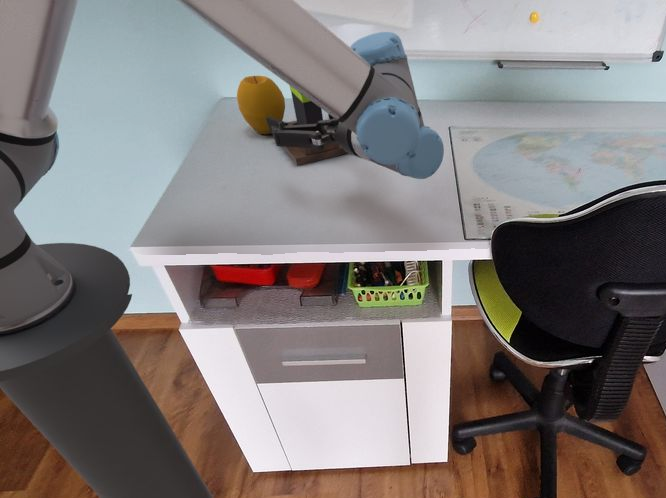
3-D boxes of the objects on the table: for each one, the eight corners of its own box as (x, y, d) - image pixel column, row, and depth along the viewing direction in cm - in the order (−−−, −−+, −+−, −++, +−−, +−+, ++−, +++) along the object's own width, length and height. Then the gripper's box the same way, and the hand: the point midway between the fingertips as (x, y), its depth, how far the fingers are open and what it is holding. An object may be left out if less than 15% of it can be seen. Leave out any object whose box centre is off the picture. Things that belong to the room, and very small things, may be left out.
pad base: (297, 165, 110) (293, 146, 107) (277, 142, 117) (273, 124, 114) (351, 152, 115) (349, 134, 112) (329, 131, 122) (326, 113, 119)
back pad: (311, 149, 112) (301, 94, 104) (299, 136, 116) (288, 82, 108) (327, 145, 114) (319, 91, 106) (315, 132, 118) (306, 79, 110)
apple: (288, 120, 125) (277, 65, 117) (292, 137, 119) (281, 82, 111) (244, 124, 123) (230, 69, 115) (246, 142, 117) (231, 85, 108)
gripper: (310, 184, 85) (248, 155, 97) (428, 135, 97) (360, 114, 109) (296, 136, 80) (233, 112, 92) (422, 90, 92) (351, 74, 104)
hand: (302, 113), depth 101 cm, fingers open, 13 cm apart
